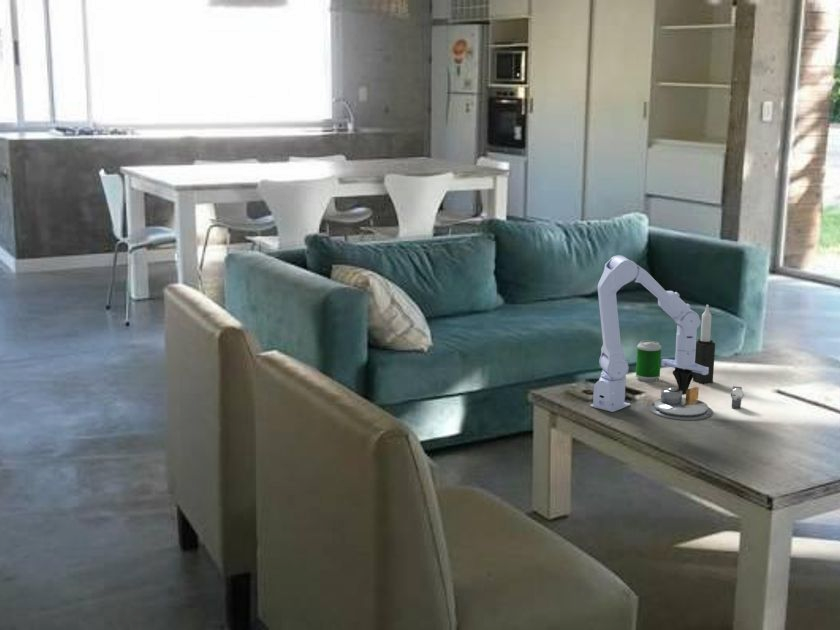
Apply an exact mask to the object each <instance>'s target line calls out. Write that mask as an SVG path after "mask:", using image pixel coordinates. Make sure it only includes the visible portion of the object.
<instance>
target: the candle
mask: <svg viewBox="0 0 840 630" xmlns="http://www.w3.org/2000/svg"><path fill="white" fill-rule="evenodd" d="M709 306H710V305H709V304H706V307H705V310H704V312H703V313H702V314H701V323H700V326H701V327H700V338H699V339H697V340H696V353H695V363H696V364H699V365H702V366H704V367H709V371H708V374H707V375H702V374H701V373H696V374H695V375H694V377H693V378H692V381H693V382H695V383H698V384H701V385H707V384H713V383H714V382H713V381H714V367H715V355H716V354H715V353H716V352H715V351H716V343H715V342H714V341H713V340H712V339H711V335H712V334H711V333H712V332H711V330H712V317H713V316H712V313H711V312H710V309H709Z"/></svg>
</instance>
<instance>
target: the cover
mask: <svg viewBox="0 0 840 630" xmlns="http://www.w3.org/2000/svg"><path fill="white" fill-rule="evenodd" d="M682 397H683V395H682V390H681V389H679V388H677V387H663V388H661V390H660V399H661V402H662V403H664V404H668V405H679V404H681V403H682Z"/></svg>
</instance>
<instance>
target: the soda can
mask: <svg viewBox="0 0 840 630" xmlns="http://www.w3.org/2000/svg"><path fill="white" fill-rule="evenodd" d="M661 357H662V345H660V343H659V342H657V341H654V340H642V341H640V342H639V343H638V344H637V346H636V366H635V367H636V368H635V377H636V378H638V380H640V381H641V382H647V383H648V382H649V383H650V382H657V380H659V378H661V377H660V376H661V361H662V359H661Z"/></svg>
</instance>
